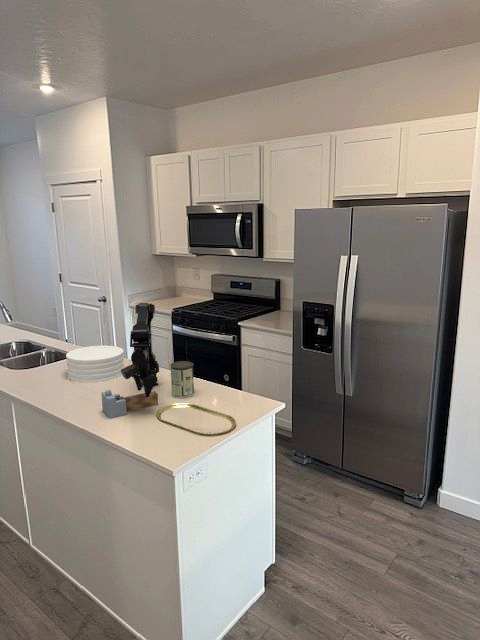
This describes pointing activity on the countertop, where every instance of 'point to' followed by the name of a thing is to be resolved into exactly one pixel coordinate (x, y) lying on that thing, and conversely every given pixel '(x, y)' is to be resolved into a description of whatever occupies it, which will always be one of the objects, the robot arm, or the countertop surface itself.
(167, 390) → the countertop surface
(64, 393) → the countertop surface
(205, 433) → the serving platter
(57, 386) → the countertop surface
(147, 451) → the countertop surface
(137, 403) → the brown wooden bar
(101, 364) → the plate stack
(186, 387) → the coffee can
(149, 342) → the robot arm
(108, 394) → the stepped blue block
